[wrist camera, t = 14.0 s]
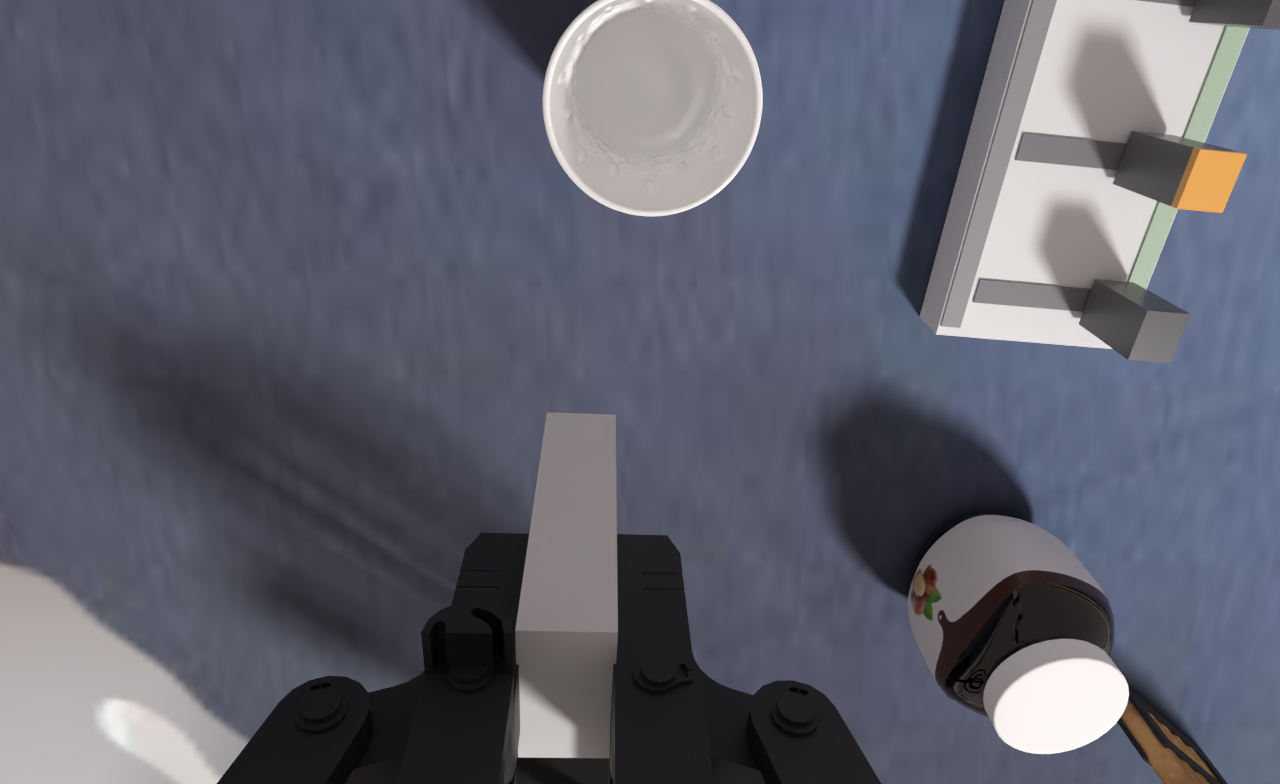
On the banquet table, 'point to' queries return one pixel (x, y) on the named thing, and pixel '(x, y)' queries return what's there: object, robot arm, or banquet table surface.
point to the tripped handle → (1179, 171)
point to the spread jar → (1017, 632)
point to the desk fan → (562, 770)
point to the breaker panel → (1068, 162)
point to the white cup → (652, 103)
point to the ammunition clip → (1166, 746)
